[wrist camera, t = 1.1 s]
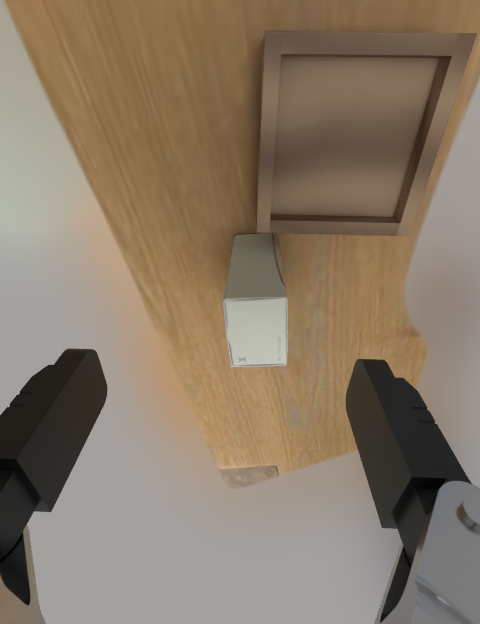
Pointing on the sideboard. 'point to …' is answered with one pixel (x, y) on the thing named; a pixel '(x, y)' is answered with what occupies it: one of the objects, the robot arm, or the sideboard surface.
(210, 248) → the sideboard surface
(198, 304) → the sideboard surface
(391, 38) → the brown wooden tray
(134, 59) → the sideboard surface
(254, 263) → the skincare box
